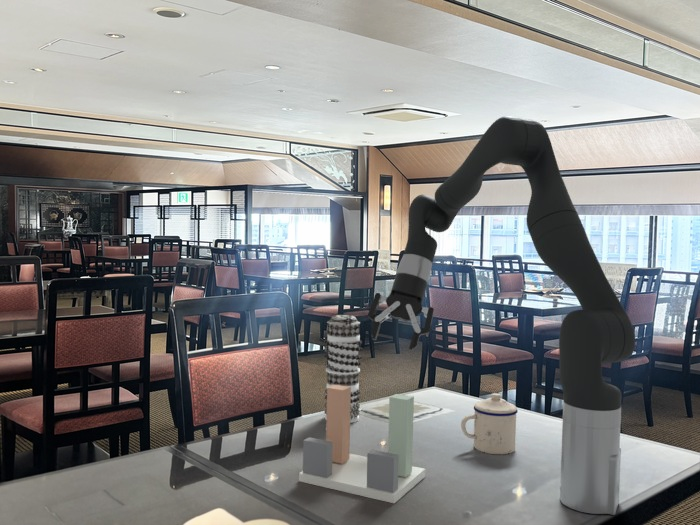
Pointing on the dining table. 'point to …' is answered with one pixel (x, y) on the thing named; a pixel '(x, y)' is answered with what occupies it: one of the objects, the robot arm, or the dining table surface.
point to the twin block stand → (357, 472)
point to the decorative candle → (344, 358)
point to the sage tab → (401, 431)
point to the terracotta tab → (339, 421)
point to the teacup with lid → (493, 425)
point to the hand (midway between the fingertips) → (392, 344)
